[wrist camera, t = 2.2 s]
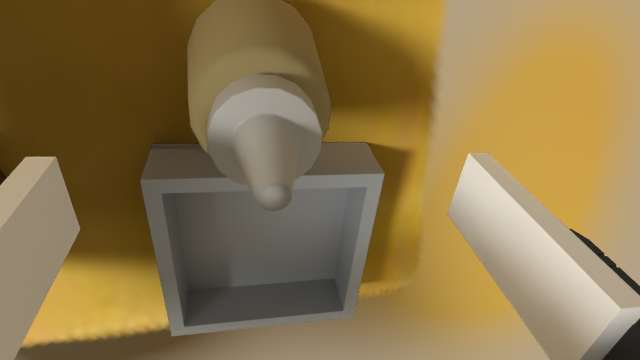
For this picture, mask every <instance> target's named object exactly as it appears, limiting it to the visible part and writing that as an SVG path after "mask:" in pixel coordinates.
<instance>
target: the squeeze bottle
mask: <svg viewBox="0 0 640 360" xmlns="http://www.w3.org/2000/svg"><path fill="white" fill-rule="evenodd" d="M187 60H188V105H189V116H190V127H191V129H192V130H193V132H194V134H195V136H196V137H197V139H198V141H199V143H200V145H201V146H202V148H203V150H205V151H206V152H207V153H208V154H209V155H210V156H211V158H212V160H213V162H214V163H215V165H216V167H217V169H218V170H219V171H221V172H222V173H223V174H224V175H226V176H227V177H228V178H230V179H231V180H232V181H233V182H235V183H239V184H242V185H245V186H248V187H250V189H251V191H252V193H253V195H254V197H255V199H256V201H257V203H258V205H259V206H260V207H261V208H262V209H264V210H267V211H278V210H281V209H284V208H285V207H286V206H287V205H289V203H290V201H291V199H292V192H293V185H294V181H295V180H297V179H298V178H299V177H301V176H302V175H303V174H304V173H306V172H307V171H308V170H309V169H310V168H311V167H312V165H313V163H314V162H315V160H316V158H317V157H318V155H319V153H320V150H321V142H322V139H323V137H324V136H325V134H326V132H327V130H328V129H329V121H330V113H331V106H332V103H331V100H330V96H329V92H328V88H327V85H326V81H325V77H324V73H323V70H322V66H321V62H320V59H319V55H318V51H317V48H316V44H315V41H314V37H313V34H312V31H311V27H310V26H309V25H308V24H307V22H306V21H305V20H304V19H303V17H302V16H301V15H300V14H299V12H298V11H297V10H296V9H295V7H294V6H292V5H290V4H289V3H287V2H285V1H283V0H215V1H214V2H213V3H212V4H211V5H210V6H209V7H208V8H207V9H206V10H205V11H204V12H203V13H202V14H201V15H200V16H199V17H198V18H197V19H196V21H195V24H194V27H193V30H192V33H191V35H190V38H189V41H188V44H187Z"/></svg>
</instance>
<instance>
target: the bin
mask: <svg viewBox="0 0 640 360" xmlns="http://www.w3.org/2000/svg"><path fill="white" fill-rule="evenodd" d="M384 175H385V173H384V171H383V170H382V168H381V166H380V165H379V163H378V161H377V160H376V158H375V156H374V154H373V153H372V151H371V149H370V148H369V146H368V144H367V143H366V142H340V143H321V150H320V153H319V155H318V157H317V158H316V160H315V162H314V163H313V165H312V167H311V168H310V169H309V170H308V171H307V172H306V173H304V174H303V175H302V176H301V177H299V178H298V179H297V180H295V181H294V185H293V192H292V199H291V201H290V203H289V205H287V206H286V207H285V208H284V209H281V210H278V211H267V210H264V209H262V208H261V207H260V206H259V205H258V203H257V201H256V199H255V197H254V195H253V193H252V191H251V189H250V187H248V186H245V185H242V184H239V183H235V182H233V181H232V180H231V179H230V178H228V177H227V176H226V175H224V174H223V173H222V172H221V171H219V170H218V169H217V167H216V165H215V163H214V162H213V160H212V158H211V156H210V155H209V154H208V153H207V152H206V151H205V150H203V148H202V146H201V145H200V144H152V147H151V150H150V153H149V156H148V158H147V161H146V164H145V167H144V169H143V172H142V175H141V178H140V183H141V188H142V193H143V198H144V203H145V208H146V213H147V217H148V222H149V227H150V232H151V237H152V242H153V247H154V252H155V256H156V261H157V266H158V271H159V276H160V281H161V286H162V290H163V295H164V300H165V305H166V310H167V315H168V320H169V324H170V329H171V334H172V336H179V335H187V334H198V333H207V332H217V331H227V330H235V329H246V328H255V327H265V326H274V325H284V324H294V323H303V322H312V321H321V320H332V319H342V318H351V317H353V316H354V311H355V307H356V302H357V298H358V293H359V289H360V284H361V279H362V275H363V270H364V266H365V261H366V257H367V252H368V248H369V243H370V239H371V234H372V229H373V225H374V220H375V216H376V211H377V207H378V202H379V198H380V193H381V188H382V184H383V179H384Z"/></svg>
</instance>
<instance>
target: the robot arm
mask: <svg viewBox="0 0 640 360" xmlns="http://www.w3.org/2000/svg"><path fill="white" fill-rule="evenodd" d="M448 215H449V217H450V218H451V220H452V221H453V222H454V224H455V225H456V227H457V228H458V229H459V231H460V232H461V234H462V235H463V237H464V238H465V240H466V241H467V242H468V244H469V245H470V247H471V248H472V249H473V251H474V252H475V254H476V255H477V257H478V258H479V259H480V261H481V262H482V264H483V265H484V267H485V268H486V269H487V271H488V272H489V273H490V275H491V276H492V278H493V279H494V281H495V282H496V284H497V285H498V286H499V288H500V289H501V291H502V292H503V293H504V295H505V296H506V298H507V299H508V301H509V302H510V303H511V305H512V306H513V308H514V309H515V311H516V312H517V313H518V315H519V316H520V318H521V319H522V320H523V322H524V323H525V325H526V326H527V328H528V329H529V330H530V332H531V333H532V335H533V336H534V337H535V339H536V340H537V342H538V343H539V345H540V346H541V347H542V349H543V350H544V352H545V353H546V354H547V356H548V357H549V358H550V360H640V286H639V285H638V284H637V283H636V282H635V281H634V280H632V279H631V278H630V277H629V276H628V275H627V274H626V273H625V272H624V271H623V270H622V269H621V268H617V267H616V264H615V263H614V262H613V261H611V259H610V258H608V257H607V256H604V253H603V252H602V251H601V250H600V249H599V248H598V247H596V246H595V245H594V244H593V243H592V242H591V241H590V240H589V239H587V238H585V237H584V236H582V235H580V234H579V233H577V232H575V231H574V230H572V229H568V228H567V227H566V226H565V225H564V224H563V223H562V222H561V221H560V220H559V219H558V218H557V217H556V216H554V215H553V214H552V213H551V212H550V211H549V210H548V209H547V208H546V207H545V206H544V205H543V204H542V203H541V202H540V201H539V200H537V199H536V198H535V197H534V196H533V195H532V194H531V193H530V192H529V191H528V190H527V189H526V188H525V187H524V186H523V185H522V184H521V183H519V182H518V181H517V180H516V179H515V178H514V177H513V176H512V175H511V174H510V173H509V172H508V171H507V170H506V169H504V167H503V166H501V165H500V164H499V163H498V162H497V161H496V160H495V159H494V158H493V157H492V156H491V155H490V154H489V153H469V154H468V156H467V159H466V162H465V165H464V168H463V171H462V174H461V176H460V179H459V182H458V185H457V188H456V191H455V193H454V196H453V199H452V202H451V205H450V208H449V210H448ZM79 231H80V226H79V223H78V220H77V217H76V214H75V212H74V209H73V206H72V203H71V200H70V197H69V194H68V191H67V188H66V185H65V182H64V179H63V176H62V173H61V170H60V167H59V164H58V161H57V158H56V157H25V158H24V160H23V161H22V162H21V163H20V164H19V165H18V166H17V167H16V168H15V170H14V171H13V172H12V173H11V174H10V175H9V176H8V177H7V179H5V178H4V176H3V175H2V173H1V172H0V360H14V358H15V356H16V354H17V352H18V350H19V349H20V347H21V345H22V343H23V341H24V339H25V337H26V335H27V333H28V331H29V329H30V327H31V325H32V323H33V321H34V319H35V317H36V315H37V313H38V311H39V309H40V307H41V306H42V304H43V302H44V300H45V298H46V296H47V294H48V292H49V290H50V288H51V286H52V284H53V282H54V280H55V278H56V276H57V274H58V272H59V270H60V268H61V266H62V264H63V262H64V260H65V259H66V257H67V255H68V253H69V251H70V249H71V247H72V245H73V243H74V241H75V239H76V237H77V235H78V233H79Z"/></svg>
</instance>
